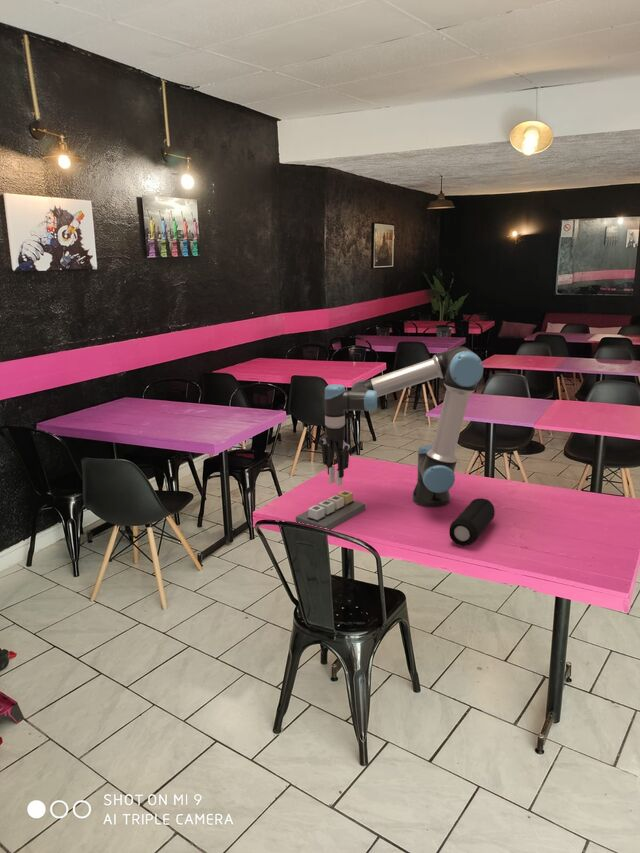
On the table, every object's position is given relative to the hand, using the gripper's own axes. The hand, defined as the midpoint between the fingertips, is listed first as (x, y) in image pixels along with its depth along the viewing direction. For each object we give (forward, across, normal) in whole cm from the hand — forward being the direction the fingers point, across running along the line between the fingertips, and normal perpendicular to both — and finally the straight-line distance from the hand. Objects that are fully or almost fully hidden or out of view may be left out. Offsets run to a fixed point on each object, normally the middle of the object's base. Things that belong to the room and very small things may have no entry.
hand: (335, 483), depth 242 cm
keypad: (+13, 0, +3) cm, 13 cm away
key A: (+9, 0, +6) cm, 11 cm away
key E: (+9, 0, +12) cm, 15 cm away
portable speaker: (+13, -50, -16) cm, 54 cm away
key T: (+9, 0, 0) cm, 9 cm away
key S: (+9, 0, -6) cm, 11 cm away
